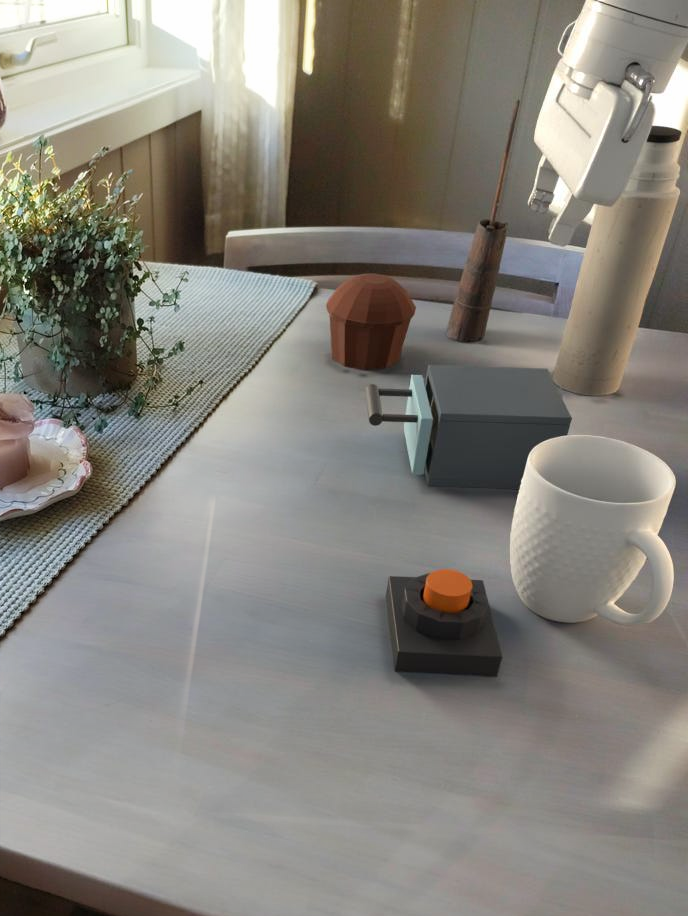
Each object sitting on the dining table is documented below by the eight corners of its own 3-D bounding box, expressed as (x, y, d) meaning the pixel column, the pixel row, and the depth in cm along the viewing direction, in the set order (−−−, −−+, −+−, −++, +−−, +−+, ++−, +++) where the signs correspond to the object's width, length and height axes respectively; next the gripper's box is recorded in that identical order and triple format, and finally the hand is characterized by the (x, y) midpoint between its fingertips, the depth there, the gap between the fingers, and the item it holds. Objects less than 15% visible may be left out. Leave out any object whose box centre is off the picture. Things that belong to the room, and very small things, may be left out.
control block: (478, 600, 78) (487, 562, 75) (497, 677, 70) (508, 639, 68) (385, 595, 78) (391, 558, 76) (394, 672, 71) (401, 633, 68)
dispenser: (427, 485, 93) (440, 413, 87) (416, 433, 102) (428, 364, 96) (551, 490, 92) (572, 417, 87) (530, 437, 101) (547, 368, 96)
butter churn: (484, 358, 117) (534, 114, 99) (418, 341, 122) (454, 104, 104) (512, 336, 123) (564, 101, 105) (448, 320, 127) (487, 93, 109)
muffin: (312, 342, 122) (318, 266, 115) (390, 336, 123) (400, 260, 117) (337, 378, 113) (345, 298, 106) (421, 371, 114) (433, 292, 108)
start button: (465, 587, 73) (469, 570, 72) (471, 614, 71) (475, 597, 69) (420, 585, 74) (424, 568, 72) (425, 612, 71) (428, 595, 70)
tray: (364, 472, 93) (371, 416, 89) (359, 426, 101) (365, 373, 97) (525, 478, 92) (539, 422, 88) (507, 431, 100) (519, 377, 96)
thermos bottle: (613, 370, 114) (688, 121, 96) (625, 398, 108) (708, 137, 90) (548, 367, 115) (611, 119, 97) (556, 393, 109) (625, 135, 91)
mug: (689, 648, 73) (752, 511, 65) (582, 685, 70) (634, 546, 61) (565, 552, 83) (606, 423, 75) (467, 580, 80) (498, 449, 72)
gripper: (697, 89, 66) (604, 274, 75) (626, 43, 82) (555, 202, 91) (617, 67, 66) (533, 255, 75) (560, 25, 81) (496, 186, 90)
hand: (545, 225), depth 83 cm, fingers open, 8 cm apart
